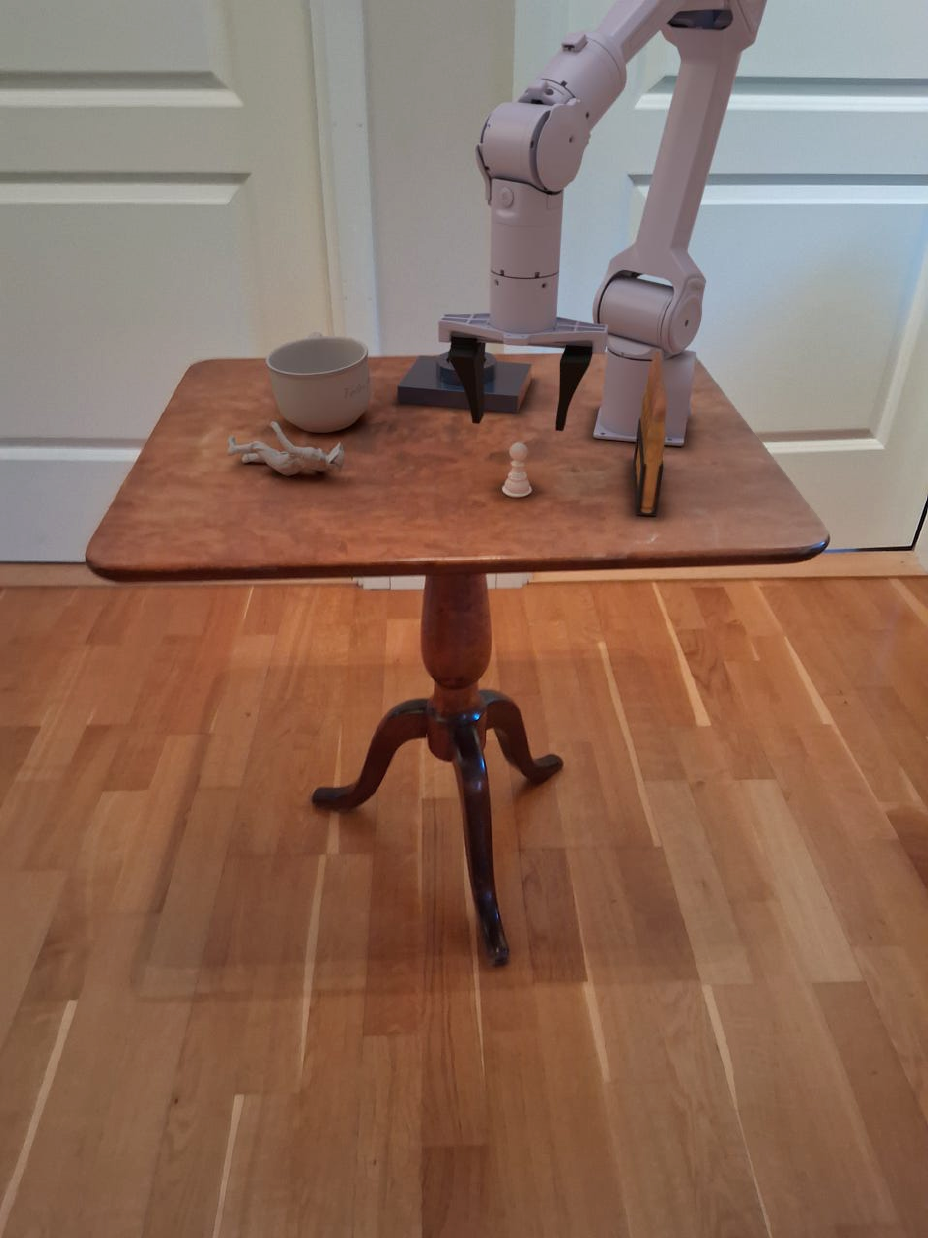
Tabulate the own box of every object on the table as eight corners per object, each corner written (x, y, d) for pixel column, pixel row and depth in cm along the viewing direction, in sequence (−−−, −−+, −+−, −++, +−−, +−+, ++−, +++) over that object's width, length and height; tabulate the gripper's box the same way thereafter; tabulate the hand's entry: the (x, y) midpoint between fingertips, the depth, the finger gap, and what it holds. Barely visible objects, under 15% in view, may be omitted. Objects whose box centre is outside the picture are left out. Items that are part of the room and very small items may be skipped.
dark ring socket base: (531, 381, 109) (532, 348, 107) (517, 414, 101) (518, 379, 99) (419, 372, 111) (418, 340, 109) (398, 403, 103) (396, 370, 101)
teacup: (367, 443, 95) (362, 370, 90) (265, 442, 95) (255, 369, 91) (380, 392, 106) (375, 324, 102) (289, 391, 106) (280, 324, 102)
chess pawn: (499, 496, 86) (500, 448, 83) (505, 482, 88) (506, 435, 85) (528, 499, 85) (530, 451, 82) (533, 486, 87) (536, 438, 84)
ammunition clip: (656, 517, 82) (674, 392, 75) (636, 516, 82) (652, 391, 75) (651, 464, 91) (667, 348, 84) (633, 463, 91) (647, 347, 84)
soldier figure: (264, 456, 95) (363, 435, 90) (263, 499, 94) (362, 481, 89) (216, 428, 88) (320, 404, 83) (214, 475, 87) (319, 453, 82)
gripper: (428, 277, 72) (431, 433, 80) (608, 288, 70) (593, 448, 78) (448, 254, 78) (449, 403, 86) (615, 264, 75) (601, 416, 83)
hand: (518, 422), depth 82 cm, fingers open, 7 cm apart
